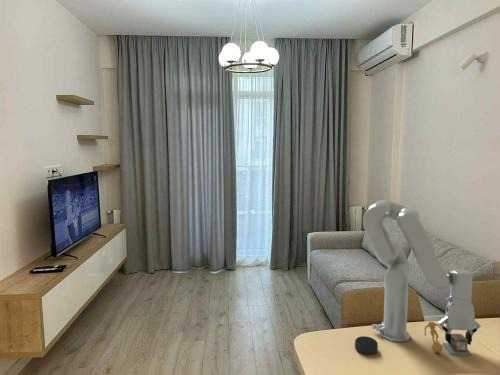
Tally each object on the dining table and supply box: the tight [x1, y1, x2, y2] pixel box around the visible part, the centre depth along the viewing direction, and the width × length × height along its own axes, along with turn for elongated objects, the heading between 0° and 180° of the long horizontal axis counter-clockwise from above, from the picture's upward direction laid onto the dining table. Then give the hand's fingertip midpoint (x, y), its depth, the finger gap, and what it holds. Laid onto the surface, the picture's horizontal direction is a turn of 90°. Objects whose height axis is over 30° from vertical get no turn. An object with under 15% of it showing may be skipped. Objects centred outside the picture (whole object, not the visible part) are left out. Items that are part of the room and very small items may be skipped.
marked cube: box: [449, 333, 469, 352], centre depth 151 cm, size 5×5×5 cm
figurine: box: [424, 321, 445, 354], centre depth 150 cm, size 8×6×12 cm
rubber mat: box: [442, 342, 473, 357], centre depth 152 cm, size 8×8×1 cm
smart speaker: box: [354, 335, 379, 356], centre depth 152 cm, size 9×9×4 cm
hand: (458, 342), depth 151 cm, fingers open, 7 cm apart
